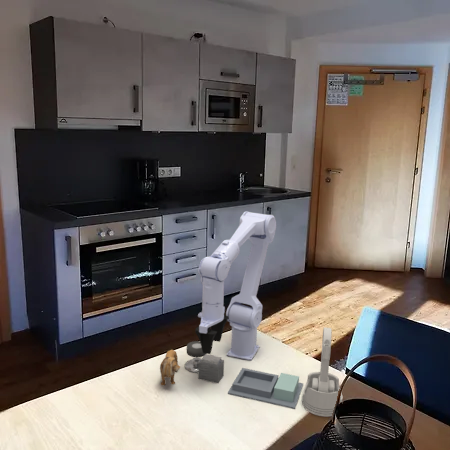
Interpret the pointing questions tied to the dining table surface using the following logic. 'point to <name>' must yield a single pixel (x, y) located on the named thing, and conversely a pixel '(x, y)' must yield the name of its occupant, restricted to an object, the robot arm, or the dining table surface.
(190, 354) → the wheel
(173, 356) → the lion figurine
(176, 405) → the dining table surface
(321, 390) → the engine component
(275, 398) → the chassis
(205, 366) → the block
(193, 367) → the axle mount
